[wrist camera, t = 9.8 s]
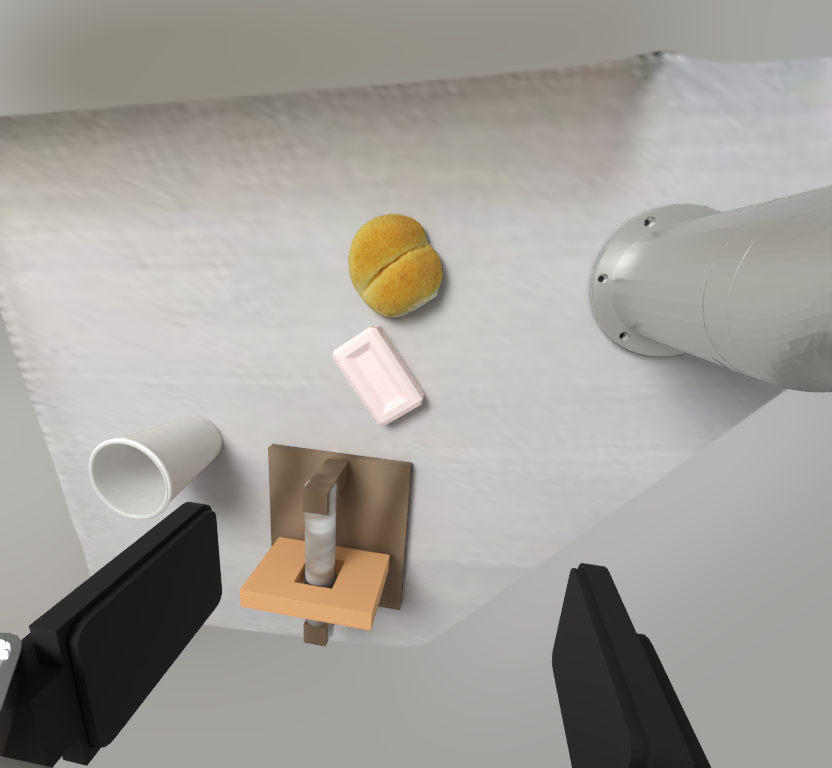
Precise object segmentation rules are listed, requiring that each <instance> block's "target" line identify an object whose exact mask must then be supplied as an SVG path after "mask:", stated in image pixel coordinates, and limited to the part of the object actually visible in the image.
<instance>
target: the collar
mask: <svg viewBox="0 0 832 768" xmlns="http://www.w3.org/2000/svg"><path fill="white" fill-rule="evenodd" d="M388 570H389V555H388V554H381V553H375V552H369V551H363V550H357V549H351V548H345V547H338V546H335V571H336V575H338V577H337V579H336V582H335V584H334V586H333V588H332V589H330V588H324V587H318V586H313V585H307V584H302V583H303V581H304V575H305V541H301V540H295V539H289V538H283V537H279V538H278V539H277V540H276V542H275V543H274V545H273V546H272V547H271V549H270V550H269V551H268V553H267V554H266V555H265V557H264V558H263V559H262V561H261V562H260V563H259V565H258V566H257V567H256V569H255V570H254V572H253V573H252V574H251V576H250V577H249V578H248V580H247V581H246V582H245V584H244V585H243V586H242V588H241V589H240V599H241V607H246V608H252V609H257V610H263V611H268V612H273V613H279V614H284V615H289V616H295V617H300V618H306V619H311V620H316V621H322V622H327V623H332V624H338V625H343V626H348V627H354V628H359V629H365V630H370V631H371V628H372V625H373V621H374V618H375V615H376V611H377V608H378V604H379V601H380V597H381V594H382V590H383V587H384V584H385V580H386V577H387V573H388Z"/></svg>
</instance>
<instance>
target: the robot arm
mask: <svg viewBox="0 0 832 768" xmlns="http://www.w3.org/2000/svg"><path fill="white" fill-rule="evenodd" d="M645 220H647V221H648V225H647V226H645V225H644V221H645ZM600 276H602V277H603V280H602V281H601V282H599V281H598V278H599V277H600ZM590 302H591V308H592V311H593V314H594V316H595V319H596V321H597V323H598V324H599V326H600V327H601V329H602V330H603V332H604V333H605V334H606V335H607V336H608V337H609V338H610V339H611V340H613V341H614V342H616V343H617V344H619V345H620V346H622V347H624V348H626V349H628V350H630V351H632V352H635V353H639V354H642V355H647V356H657V357H662V356H674V355H679V354H683V353H689V354H691V355H694V356H697V357H699V358H702V359H705V360H707V361H710V362H713V363H715V364H718V365H720V366H723V367H726V368H728V369H731V370H734V371H736V372H739V373H742V374H744V375H747V376H750V377H752V378H755V379H759V380H761V381H764V382H767V383H770V384H773V385H776V386H780V387H783V388H787V389H792V390H798V391H806V392H832V185H831V186H827V187H823V188H819V189H815V190H811V191H807V192H803V193H800V194H796V195H792V196H788V197H784V198H779V199H775V200H771V201H767V202H763V203H759V204H755V205H751V206H747V207H743V208H738V209H734V210H730V211H726V212H722V213H721V212H720V211H717V210H714V209H712V208H709V207H707V206H702V205H695V204H673V205H669V206H665V207H660V208H657V209H654V210H651V211H649V212H646V213H644V214H642V215H640V216H638V217H636V218H634V219H633V220H631V221H630V222H628V223H627V224H626V225H624V226H623V227H622V228H620V229H619V230H618V231H617V232H616V233H615V234H614V235H613V236H612V238H611V239H610V240H609V241H608V242H607V243H606V245H605V246H604V248H603V249H602V251H601V253H600V254H599V256H598V258H597V261H596V263H595V265H594V268H593V272H592V276H591V280H590ZM621 333H623V334H624V336H623V337H622V338H620V337H619V335H620V334H621ZM221 595H222V583H221V571H220V558H219V546H218V533H217V521H216V514H215V512H213V511H212V510H211V507H210V506H209V505H206V504H199V503H193V502H186V503H184V504H182V505H181V506H180V507H178V508H177V509H176V510H175V511H173V512H172V513H171V514H170V515H168V516H167V517H166V518H165V519H163V520H162V521H161V522H160V523H158V524H157V525H156V526H154V527H153V528H152V529H151V530H149V531H148V532H147V533H146V534H144V535H143V536H142V537H141V538H139V539H138V540H137V541H136V542H134V543H133V544H132V545H130V546H129V547H128V548H127V549H125V550H124V551H123V552H122V553H120V554H119V555H118V556H117V557H115V558H114V559H113V560H112V561H110V562H109V563H108V564H106V565H105V566H104V567H103V568H101V569H100V570H99V571H98V572H96V573H95V574H94V575H93V576H91V577H90V578H89V579H88V580H86V581H85V582H84V583H83V584H81V585H80V586H79V587H77V588H76V589H75V590H74V591H73V592H71V593H70V594H69V595H68V596H66V597H65V598H64V599H62V600H61V601H60V602H59V603H57V604H56V605H55V606H53V607H52V608H51V609H50V610H48V611H47V612H46V613H45V614H43V615H42V616H41V617H40V618H38V619H37V620H36V621H34V622H33V623H32V624H31V625H29V628H30V632H31V633H29V634H28V635H27V636H26V637H25V638H23V639H22V640H20V639H19V637H18V636H17V635H14V634H11V633H0V768H52V767H53V766H54V765H55V764H56V763H57V761H58V760H59V759H60V758H61V757H63V760H66V761H70V762H74V763H78V764H82V765H88V764H89V762H90V761H91V760H92V759H93V757H94V756H95V755H96V753H97V752H98V751H99V750H100V748H101V747H106V746H107V745H109V744H110V743H111V742H112V741H113V740H114V739H115V738H116V736H117V735H118V734H119V732H120V731H121V730H122V728H123V727H124V726H125V725H126V723H127V722H128V721H129V719H130V718H131V717H132V716H133V714H134V713H135V712H136V710H137V709H138V708H139V706H140V705H141V704H142V703H143V701H144V700H145V699H146V697H147V696H148V695H149V694H150V692H151V691H152V690H153V688H154V687H155V686H156V685H157V683H158V682H159V681H160V679H161V678H162V677H163V675H164V674H165V673H166V672H167V670H168V669H169V668H170V666H171V665H172V664H173V663H174V661H175V660H176V659H177V657H178V656H179V655H180V653H181V652H182V651H183V650H184V648H185V647H186V645H187V644H188V643H189V642H190V641H191V639H192V638H193V636H194V635H195V634H196V633H197V631H198V630H199V629H200V628H201V626H202V625H203V624H204V622H205V621H206V620H207V619H208V617H209V616H210V615H211V613H212V612H213V611H214V610H215V608H216V607H217V605H218V604H219V602H220V599H221ZM552 667H553V672H554V678H555V683H556V688H557V693H558V698H559V703H560V708H561V714H562V719H563V724H564V729H565V734H566V739H567V744H568V749H569V754H570V759H571V765H572V768H711V766H710V764H709V762H708V760H707V758H706V756H705V754H704V752H703V749H702V747H701V746H700V743H699V741H698V739H697V737H696V735H695V733H694V731H693V729H692V726H691V725H690V722H689V720H688V718H687V716H686V714H685V712H684V710H683V708H682V705H681V704H680V701H679V699H678V697H677V695H676V693H675V691H674V689H673V687H672V685H671V683H670V680H669V678H668V676H667V674H666V672H665V670H664V668H663V666H662V664H661V661H660V659H659V657H658V655H657V653H656V651H655V649H654V647H653V645H652V643H651V642H650V640H649V638H647V637H646V636H645V635H643V634H637V633H636V631H635V629H634V626H633V624H632V622H631V620H630V617H629V615H628V613H627V611H626V608H625V606H624V604H623V602H622V600H621V597H620V595H619V593H618V591H617V588H616V586H615V584H614V582H613V579H612V577H611V575H610V573H609V571H608V569H607V568H606V567H604V566H597V565H591V564H584V563H581V564H580V565H579V567H578V569H576V568H572V569H571V571H570V575H569V579H568V584H567V588H566V593H565V598H564V602H563V607H562V612H561V616H560V621H559V625H558V630H557V634H556V639H555V644H554V648H553V653H552Z"/></svg>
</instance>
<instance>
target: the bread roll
mask: <svg viewBox="0 0 832 768" xmlns="http://www.w3.org/2000/svg"><path fill="white" fill-rule="evenodd" d="M348 262H349V274H350V278H351V281H352V284H353V286H354V288H355V289H356V291H357V292H358V294H359V295H360V296H361V298H362V299H363V300H364V302H365V303H366V304H367V305H368V306H369V307H370V308H371V309H373V310H374V311H375V312H377V313H378V314H380V315H381V316H384V317H403V316H405V315H407V314H409V313H411V312H413V311H415V310H417V309H418V308H420V307H421V306H424V305H425V304H426V303H427V302H428V301H430V300H432V299H434V298H435V297H436V296H437V295H438V290H439V287H440V285H441V282H442V278H443V271H442V265H441V261H440V258H439V256H438V255H437V253H436V252H435V250H434V249H433V248H432V247H431V246H430V245H429V243H428V241H427V238H426V235H425V232H424V229H423V227H422V226H421V225H420V223H418V222H417V221H416V220H414V219H412V218H410V217H407V216H403V215H397V214H388V215H383V216H379V217H375V218H373V219H372V220H370V221H368V222H367V223H365V224H364V225H363V226H362V227H361V228H360V229H359V230H358V231H357V233H356V235H355V237H354V239H353V241H352V244H351V247H350V251H349V257H348Z"/></svg>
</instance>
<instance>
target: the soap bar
mask: <svg viewBox="0 0 832 768" xmlns="http://www.w3.org/2000/svg"><path fill="white" fill-rule="evenodd" d="M333 359H334V360H335V362H336V363H337V365H338V366H339V367H340V369H341V370H342V372H343V373H344V375H345V376H346V378H347V379H348V381H349V382H350V384H351V385H352V387H353V388H354V389H355V391H356V392H357V394H358V395H359V397H360V398H361V400H362V401H363V403H364V404H365V406H366V407H367V409H368V410H369V411H370V413H371V414H372V416H373V417H374V419H375V420H376V422H377V423H378V424H379V425H383V426H385V425H387V424H389V423H390V422H392V421H394V420H395V419H397V418H399V417H401V416H402V415H404V414H406V413H408V412H409V411H411V410H413V409H415V408H416V407H418V406H420V405H421V403H422V401H423V398H424V393H423V391H422V390H421V388H420V387H419V385H418V383H417V382H416V380H415V379H414V377H413V376H412V374H411V373H410V371H409V370H408V368H407V367H406V365H405V363H404V362H403V360H402V359H401V357H400V356H399V354H398V353H397V351H396V350H395V348H394V347H393V345H392V344H391V342H390V340H389V339H388V337H387V336H386V334H385V333H384V331H383V330H382V328H381V327H380V326H377V325H373V326H371V327H369V328H367V329H366V330H364V331H363V332H361V333H360V334H358V335H357V336H355V337H354V338H352V339H351V340H349V341H348V342H346V343H345V344H343V345H342V346H340V347H339V348H337V349H336V350H334V351H333Z"/></svg>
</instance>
